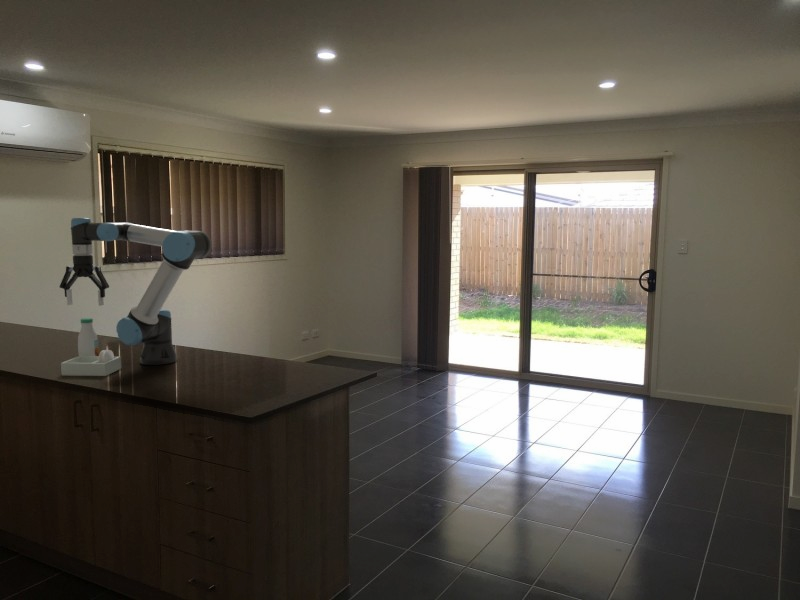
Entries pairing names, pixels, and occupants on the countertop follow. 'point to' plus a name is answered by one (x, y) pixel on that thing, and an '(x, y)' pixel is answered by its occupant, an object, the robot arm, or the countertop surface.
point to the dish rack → (92, 365)
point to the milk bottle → (87, 339)
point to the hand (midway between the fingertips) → (85, 305)
